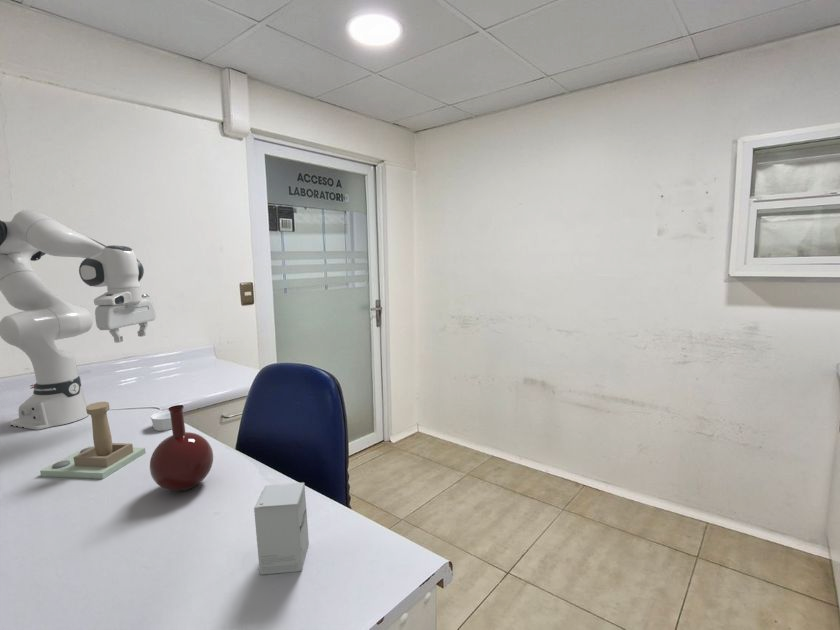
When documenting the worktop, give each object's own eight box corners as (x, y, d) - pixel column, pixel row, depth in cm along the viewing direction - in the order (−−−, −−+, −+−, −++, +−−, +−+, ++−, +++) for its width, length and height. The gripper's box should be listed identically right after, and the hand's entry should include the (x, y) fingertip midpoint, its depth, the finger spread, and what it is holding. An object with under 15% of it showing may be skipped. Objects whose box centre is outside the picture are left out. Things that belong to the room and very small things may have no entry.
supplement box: (302, 572, 73) (297, 504, 72) (258, 575, 73) (252, 507, 71) (310, 543, 81) (305, 481, 79) (270, 546, 80) (264, 484, 78)
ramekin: (181, 419, 146) (180, 407, 145) (184, 427, 139) (183, 414, 138) (151, 425, 141) (149, 413, 140) (153, 434, 134) (151, 421, 133)
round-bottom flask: (150, 509, 93) (139, 422, 90) (155, 481, 105) (145, 404, 102) (217, 492, 99) (208, 410, 96) (214, 468, 111) (206, 394, 108)
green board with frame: (40, 476, 109) (38, 461, 109) (89, 450, 123) (87, 437, 123) (103, 478, 107) (101, 463, 107) (145, 452, 121) (143, 439, 120)
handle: (94, 466, 111) (86, 411, 108) (93, 457, 116) (85, 404, 113) (117, 460, 114) (109, 406, 111) (115, 451, 119) (108, 400, 116)
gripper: (141, 293, 147) (146, 332, 149) (88, 300, 127) (94, 345, 129) (158, 293, 146) (162, 332, 148) (107, 300, 126) (113, 345, 128)
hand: (130, 339), depth 138 cm, fingers open, 8 cm apart
